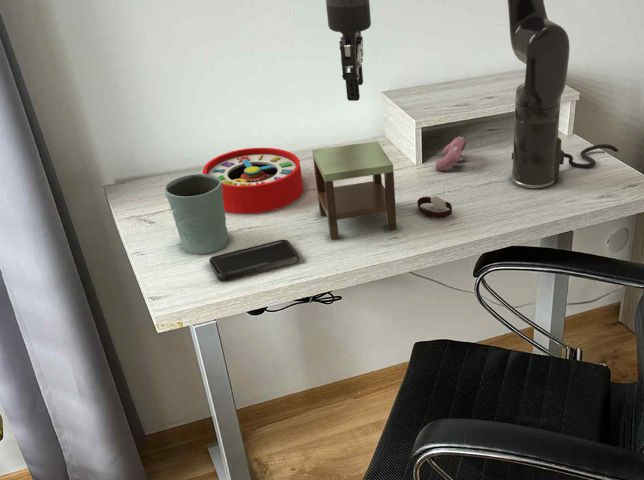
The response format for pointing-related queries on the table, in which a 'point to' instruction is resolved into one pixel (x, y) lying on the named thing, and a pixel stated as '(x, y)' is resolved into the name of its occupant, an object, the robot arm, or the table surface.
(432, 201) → the watch
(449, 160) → the video game controller
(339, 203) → the small side table
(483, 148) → the table surface
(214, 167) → the toy clock
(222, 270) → the phone
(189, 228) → the grey-green cup
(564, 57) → the robot arm
